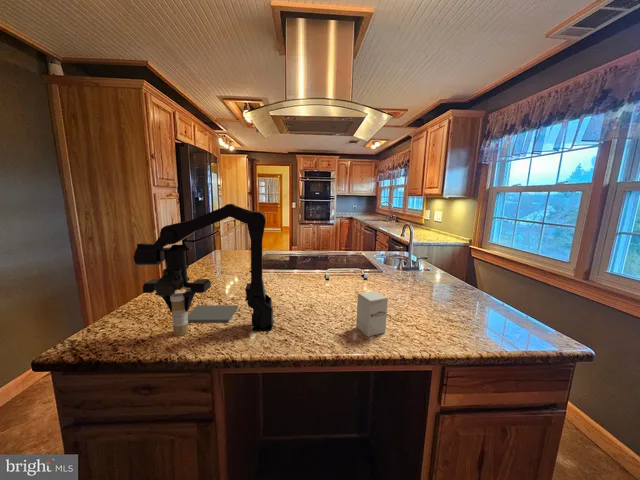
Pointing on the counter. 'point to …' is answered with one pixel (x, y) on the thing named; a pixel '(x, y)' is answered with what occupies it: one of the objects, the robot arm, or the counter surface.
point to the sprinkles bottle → (179, 314)
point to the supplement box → (371, 313)
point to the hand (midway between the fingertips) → (179, 311)
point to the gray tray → (212, 313)
